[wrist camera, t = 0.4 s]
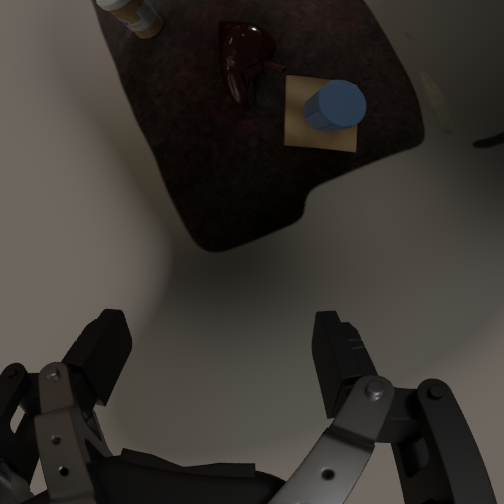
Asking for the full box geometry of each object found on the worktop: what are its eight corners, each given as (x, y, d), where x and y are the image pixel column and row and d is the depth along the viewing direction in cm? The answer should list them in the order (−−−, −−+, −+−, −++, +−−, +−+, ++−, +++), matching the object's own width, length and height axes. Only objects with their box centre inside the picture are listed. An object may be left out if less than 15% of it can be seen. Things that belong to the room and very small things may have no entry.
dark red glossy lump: (243, 30, 30) (301, 41, 26) (212, 95, 36) (264, 117, 32) (213, 14, 25) (274, 19, 21) (180, 87, 31) (232, 106, 27)
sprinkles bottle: (132, 38, 28) (88, 7, 15) (143, 15, 26) (106, -22, 14) (157, 40, 28) (118, 4, 16) (169, 17, 27) (137, -25, 14)
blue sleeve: (304, 92, 31) (319, 76, 22) (341, 97, 31) (366, 84, 22) (303, 129, 33) (318, 123, 24) (340, 133, 33) (365, 130, 24)
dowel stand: (285, 77, 31) (294, 56, 22) (354, 86, 31) (381, 72, 22) (283, 145, 35) (292, 144, 26) (353, 152, 35) (380, 154, 26)
